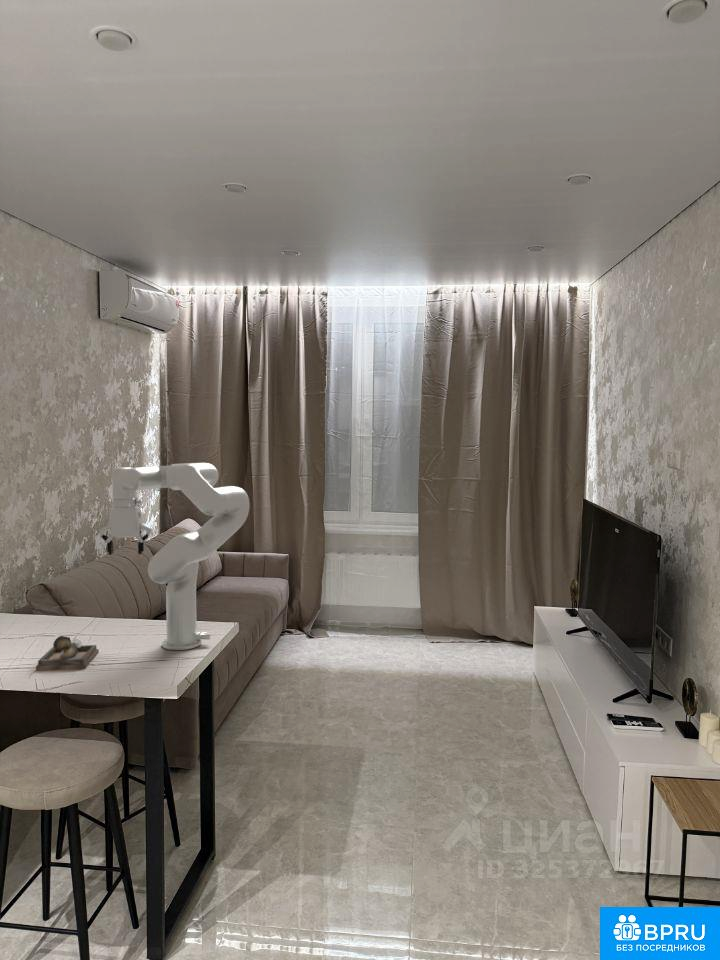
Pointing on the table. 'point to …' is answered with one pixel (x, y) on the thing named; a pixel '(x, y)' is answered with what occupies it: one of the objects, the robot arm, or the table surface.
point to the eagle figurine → (67, 646)
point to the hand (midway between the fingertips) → (125, 553)
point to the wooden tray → (78, 662)
